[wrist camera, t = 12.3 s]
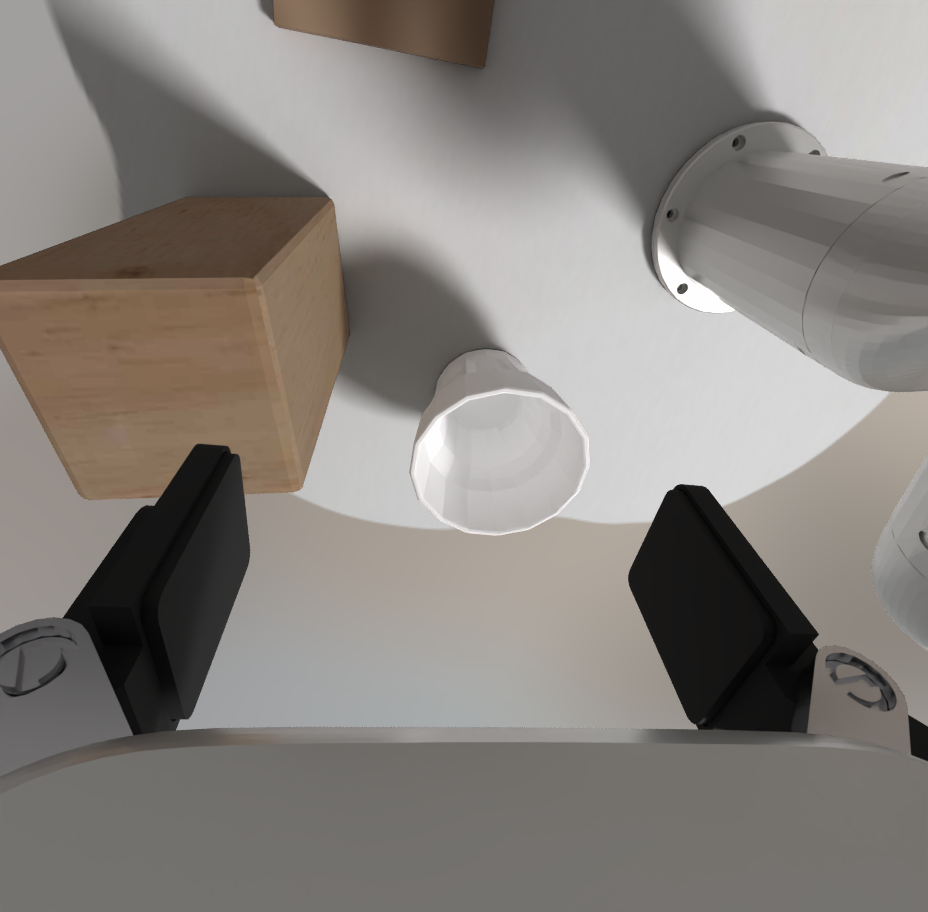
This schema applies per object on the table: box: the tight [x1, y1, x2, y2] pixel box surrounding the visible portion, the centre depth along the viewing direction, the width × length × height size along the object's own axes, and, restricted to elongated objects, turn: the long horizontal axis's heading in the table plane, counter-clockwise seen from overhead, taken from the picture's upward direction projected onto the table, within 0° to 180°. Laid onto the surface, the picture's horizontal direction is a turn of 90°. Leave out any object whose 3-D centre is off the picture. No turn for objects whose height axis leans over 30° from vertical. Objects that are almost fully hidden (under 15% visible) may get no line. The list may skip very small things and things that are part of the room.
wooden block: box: [0, 197, 350, 500], centre depth 29 cm, size 10×10×20 cm
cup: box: [409, 349, 590, 536], centre depth 39 cm, size 12×12×11 cm
